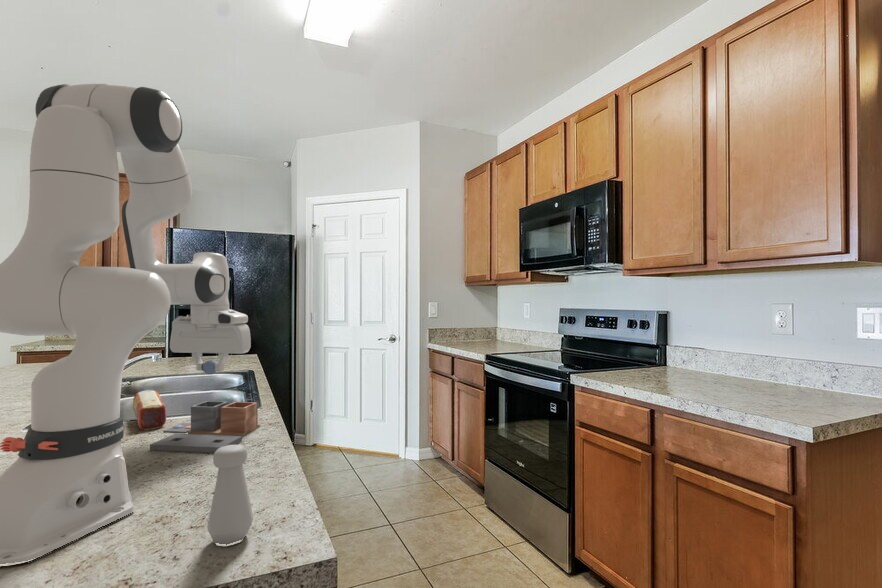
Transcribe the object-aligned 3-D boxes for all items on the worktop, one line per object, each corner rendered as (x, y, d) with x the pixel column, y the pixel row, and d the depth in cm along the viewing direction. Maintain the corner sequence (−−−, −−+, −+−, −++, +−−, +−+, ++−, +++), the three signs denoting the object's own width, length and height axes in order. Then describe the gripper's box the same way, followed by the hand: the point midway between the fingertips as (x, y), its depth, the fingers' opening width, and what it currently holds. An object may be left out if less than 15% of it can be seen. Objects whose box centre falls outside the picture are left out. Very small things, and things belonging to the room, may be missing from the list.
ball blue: (212, 375, 114) (212, 361, 114) (199, 375, 114) (199, 361, 114) (221, 373, 117) (221, 359, 117) (208, 372, 118) (208, 359, 118)
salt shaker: (259, 528, 67) (259, 440, 67) (243, 550, 61) (243, 454, 61) (218, 529, 67) (218, 440, 67) (199, 551, 61) (199, 454, 61)
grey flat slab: (221, 453, 99) (221, 447, 99) (149, 449, 101) (149, 444, 101) (241, 441, 107) (241, 436, 107) (175, 438, 108) (175, 433, 108)
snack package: (167, 427, 118) (167, 402, 118) (137, 432, 114) (137, 405, 114) (159, 411, 135) (159, 388, 135) (132, 414, 131) (132, 391, 131)
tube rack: (242, 436, 110) (242, 409, 110) (187, 434, 112) (187, 407, 112) (259, 426, 118) (259, 401, 118) (208, 425, 120) (208, 400, 120)
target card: (185, 432, 113) (185, 431, 113) (163, 431, 114) (163, 430, 114) (203, 424, 120) (203, 423, 120) (182, 424, 121) (182, 422, 121)
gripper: (163, 316, 114) (163, 371, 114) (240, 317, 111) (240, 373, 111) (181, 315, 120) (181, 367, 120) (254, 316, 118) (254, 369, 118)
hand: (210, 370), depth 116 cm, fingers closed on ball blue, 4 cm apart
